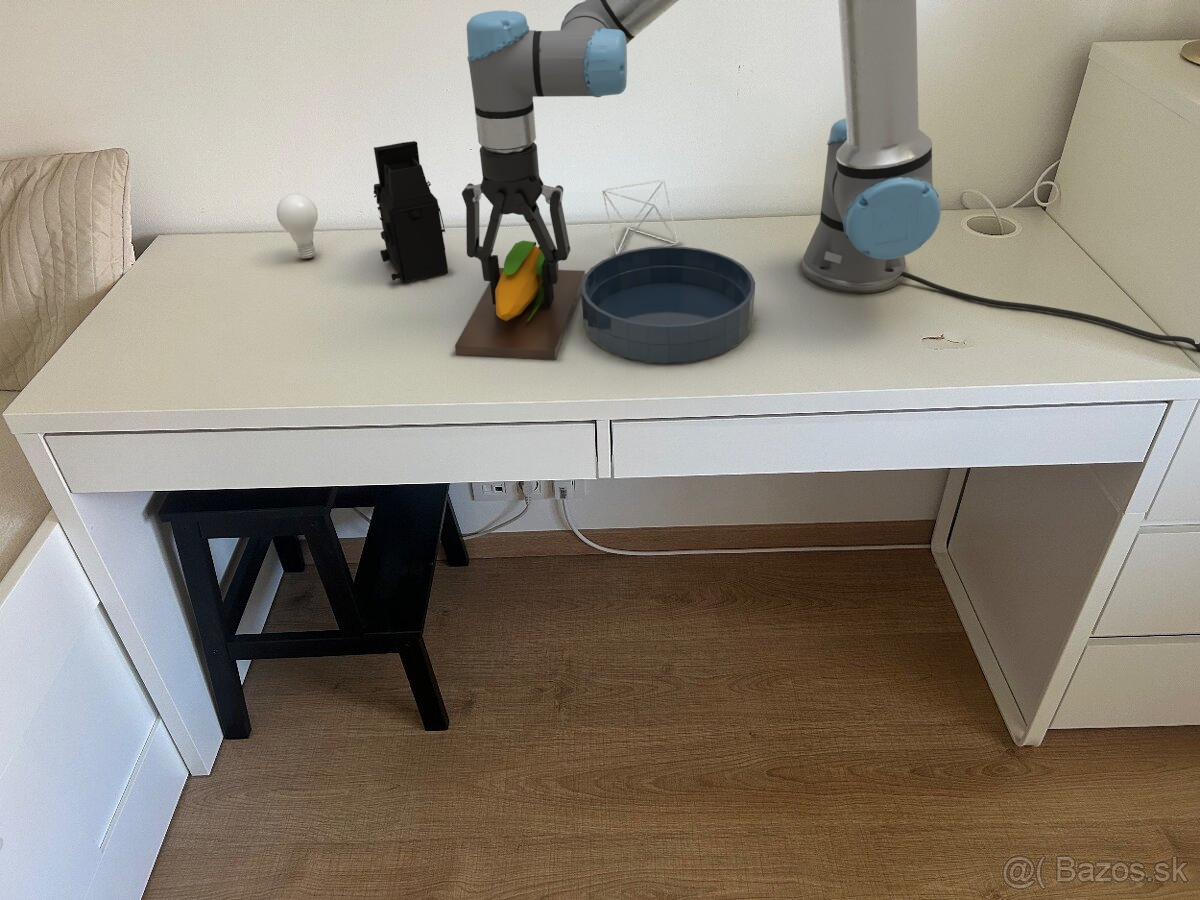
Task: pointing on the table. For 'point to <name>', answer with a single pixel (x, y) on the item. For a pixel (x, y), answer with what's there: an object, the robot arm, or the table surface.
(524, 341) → the walnut board
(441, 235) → the camera
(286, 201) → the lightbulb
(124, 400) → the table surface
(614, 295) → the bowl
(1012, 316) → the table surface
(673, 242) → the geometric polyhedron
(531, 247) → the corn
